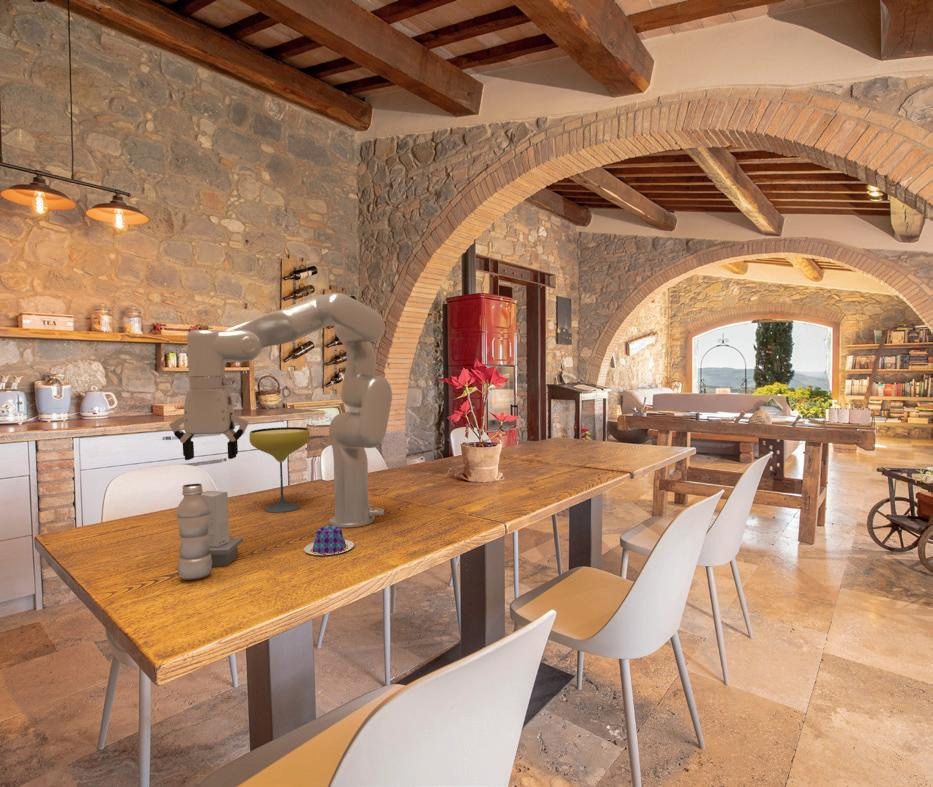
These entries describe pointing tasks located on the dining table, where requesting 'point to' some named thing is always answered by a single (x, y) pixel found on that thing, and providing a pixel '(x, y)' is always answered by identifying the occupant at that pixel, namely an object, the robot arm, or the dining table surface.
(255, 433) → the cocktail glass
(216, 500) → the skincare box
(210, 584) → the dining table surface
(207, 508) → the plastic bottle
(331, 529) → the pudding
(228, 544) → the stand
